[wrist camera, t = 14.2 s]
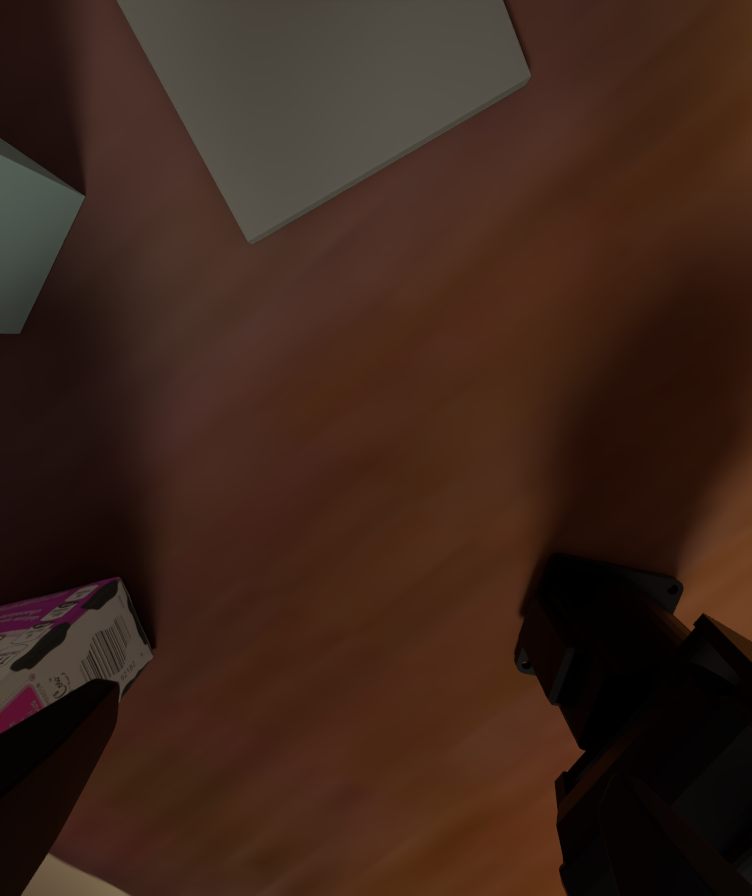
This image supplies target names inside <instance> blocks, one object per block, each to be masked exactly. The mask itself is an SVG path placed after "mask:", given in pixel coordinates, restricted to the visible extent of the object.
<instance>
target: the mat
mask: <svg viewBox="0 0 752 896" xmlns="http://www.w3.org/2000/svg"><path fill="white" fill-rule="evenodd" d="M117 2H118V4H119V6H120V7H121V9H122V11H123V13H124V15H125V17H126V18H127V20H128V22H129V24H130V26H131V28H132V29H133V31H134V33H135V35H136V37H137V39H138V40H139V42H140V44H141V46H142V48H143V50H144V51H145V53H146V55H147V57H148V59H149V61H150V63H151V64H152V66H153V68H154V70H155V72H156V74H157V75H158V77H159V79H160V81H161V83H162V85H163V86H164V88H165V90H166V92H167V94H168V96H169V97H170V99H171V101H172V103H173V105H174V107H175V108H176V110H177V112H178V114H179V116H180V118H181V120H182V121H183V123H184V125H185V127H186V129H187V131H188V132H189V134H190V136H191V138H192V140H193V142H194V143H195V145H196V147H197V149H198V151H199V153H200V154H201V156H202V158H203V160H204V162H205V164H206V166H207V167H208V169H209V171H210V173H211V175H212V177H213V178H214V180H215V182H216V184H217V186H218V188H219V189H220V191H221V193H222V195H223V197H224V199H225V200H226V202H227V204H228V206H229V208H230V210H231V211H232V213H233V215H234V217H235V219H236V221H237V223H238V224H239V226H240V228H241V230H242V232H243V234H244V235H245V237H246V239H247V241H248V242H249V243H250V244H252V245H253V244H254V243H256V242H258V241H259V240H261V239H263V238H265V237H266V236H268V235H270V234H271V233H273V232H275V231H277V230H278V229H280V228H282V227H283V226H285V225H287V224H289V223H290V222H292V221H294V220H296V219H297V218H299V217H301V216H302V215H304V214H306V213H308V212H309V211H311V210H313V209H314V208H316V207H318V206H320V205H321V204H323V203H325V202H326V201H328V200H330V199H332V198H333V197H335V196H337V195H338V194H340V193H342V192H344V191H345V190H347V189H349V188H350V187H352V186H354V185H356V184H357V183H359V182H361V181H362V180H364V179H366V178H368V177H369V176H371V175H373V174H374V173H376V172H378V171H380V170H381V169H383V168H385V167H386V166H388V165H390V164H392V163H393V162H395V161H397V160H398V159H400V158H402V157H404V156H405V155H407V154H409V153H410V152H412V151H414V150H416V149H417V148H419V147H421V146H422V145H424V144H426V143H428V142H429V141H431V140H433V139H434V138H436V137H438V136H440V135H441V134H443V133H445V132H446V131H448V130H450V129H452V128H453V127H455V126H457V125H458V124H460V123H462V122H464V121H465V120H467V119H469V118H470V117H472V116H474V115H476V114H477V113H479V112H481V111H482V110H484V109H486V108H488V107H489V106H491V105H493V104H494V103H496V102H498V101H500V100H501V99H503V98H505V97H506V96H508V95H510V94H512V93H513V92H515V91H517V90H518V89H520V88H522V87H524V86H525V85H526V84H527V82H528V81H529V79H530V77H531V74H530V71H529V69H528V66H527V63H526V61H525V58H524V55H523V53H522V50H521V47H520V44H519V42H518V39H517V36H516V34H515V31H514V28H513V26H512V23H511V20H510V18H509V15H508V12H507V10H506V7H505V4H504V2H503V0H117Z"/></svg>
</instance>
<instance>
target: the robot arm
mask: <svg viewBox="0 0 752 896" xmlns="http://www.w3.org/2000/svg"><path fill="white" fill-rule="evenodd" d="M559 562H564V563H563V565H562V566H561V567H556V565H557V564H558V563H559ZM671 585H673V586H672V588H671V589H669V590H667V589H668V588H669V586H671ZM682 592H683V585H682V583H681V582H680V581H678V580H677V579H676V578H675V577H672V576H668V575H664V574H659V573H654V572H649V571H645V570H640V569H635V568H630V567H625V566H621V565H616V564H611V563H606V562H601V561H597V560H592V559H587V558H582V557H578V556H573V555H568V554H563V553H556V554H553V555H552V556H551V557H550V558H549V560H548V562H547V565H546V568H545V571H544V574H543V577H542V580H541V583H540V586H539V588H538V591H537V592H536V593H535V594H534V595H533V596H532V599H531V602H530V605H529V608H528V611H527V613H526V616H525V619H524V622H523V625H522V628H521V631H520V634H519V640H520V643H519V646H518V649H517V652H516V655H515V659H514V661H515V664H516V666H517V669H518V670H519V671H520V672H522V673H525V674H530V675H535V676H537V678H538V680H539V682H540V684H541V686H542V688H543V691H544V693H545V695H546V697H547V699H548V700H549V702H550V703H551V704H552V705H555V706H559V708H560V710H561V712H562V714H563V716H564V718H565V720H566V722H567V724H568V726H569V728H570V730H571V732H572V734H573V736H574V738H575V740H576V742H577V744H578V746H579V748H580V749H582V750H585V753H584V754H583V755H582V756H581V757H580V758H579V759H578V760H577V762H576V763H575V764H574V765H573V766H572V767H571V768H570V769H569V771H568V772H566V771H564V772H562V773H561V775H560V776H559V777H558V778H557V779H556V780H555V790H556V799H557V808H558V814H557V823H556V826H557V831H558V836H559V840H560V845H561V850H562V854H563V864H562V865H561V866H560V868H559V872H560V877H561V882H562V885H563V887H564V890H565V892H566V894H567V896H752V641H750V640H748V639H746V638H745V637H743V636H741V635H740V634H738V633H736V632H735V631H733V630H731V629H730V628H728V627H726V626H725V625H723V624H721V623H720V622H718V621H716V620H714V619H713V618H711V617H709V616H708V615H706V614H704V613H703V614H702V615H701V616H700V617H699V618H698V619H697V621H696V622H695V623H694V624H693V625H694V626H695V628H694V629H693V631H692V632H691V631H690V630H689V629H688V628H687V627H686V626H685V625H684V624H683V623H681V622H680V621H679V620H678V619H677V618H676V617H675V616H674V615H673V613H674V611H675V609H676V606H677V604H678V602H679V599H680V597H681V595H682ZM524 661H528V662H527V663H524V664H523V662H524ZM119 695H120V685H119V683H118V682H116V681H112V680H106V679H101V678H95V679H92V680H90V681H88V682H87V683H85V684H83V685H82V686H80V687H78V688H77V689H75V690H73V691H71V692H70V693H68V694H66V695H65V696H63V697H61V698H60V699H58V700H56V701H55V702H53V703H51V704H49V705H48V706H46V707H44V708H43V709H41V710H39V711H38V712H36V713H34V714H33V715H31V716H29V717H27V718H26V719H24V720H22V721H21V722H19V723H17V724H16V725H14V726H12V727H11V728H9V729H7V730H5V731H4V732H2V733H0V896H21V895H22V893H23V891H24V890H25V888H26V886H27V885H28V884H29V882H30V880H31V879H32V877H33V876H34V874H35V872H36V871H37V869H38V868H39V866H40V865H41V863H42V862H43V860H44V859H45V857H46V855H47V854H48V852H49V850H50V849H51V847H52V845H53V844H54V842H55V841H56V839H57V837H58V835H59V833H60V832H61V830H62V828H63V826H64V824H65V823H66V821H67V819H68V817H69V815H70V813H71V811H72V809H73V808H74V806H75V804H76V802H77V800H78V798H79V796H80V794H81V792H82V790H83V789H84V787H85V785H86V783H87V781H88V779H89V777H90V775H91V773H92V772H93V770H94V768H95V766H96V764H97V762H98V760H99V758H100V756H101V755H102V753H103V751H104V749H105V747H106V745H107V743H108V741H109V739H110V737H111V735H112V733H113V731H114V728H115V726H116V722H117V715H118V705H119Z"/></svg>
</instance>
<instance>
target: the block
mask: <svg viewBox="0 0 752 896" xmlns="http://www.w3.org/2000/svg"><path fill="white" fill-rule="evenodd" d="M84 198H85V196H84V195H82V194H81V193H80V192H78V191H77V190H75V189H74V188H72V187H71V186H69V185H68V184H66V183H65V182H64V181H62V180H61V179H59V178H58V177H56V176H55V175H53V174H52V173H50V172H49V171H47V170H46V169H45V168H43V167H42V166H40V165H39V164H37V163H36V162H34V161H33V160H31V159H30V158H29V157H27V156H26V155H24V154H23V153H21V152H20V151H18V150H17V149H15V148H14V147H13V146H11V145H10V144H8V143H7V142H5V141H4V140H2V139H1V138H0V334H20V332H21V330H22V328H23V326H24V324H25V322H26V320H27V318H28V316H29V314H30V311H31V309H32V307H33V305H34V303H35V301H36V299H37V297H38V295H39V293H40V290H41V288H42V286H43V284H44V282H45V280H46V278H47V276H48V274H49V272H50V270H51V267H52V265H53V263H54V261H55V259H56V257H57V255H58V253H59V251H60V249H61V247H62V244H63V242H64V240H65V238H66V236H67V234H68V232H69V230H70V228H71V226H72V224H73V221H74V219H75V217H76V215H77V213H78V211H79V209H80V207H81V205H82V203H83V200H84Z"/></svg>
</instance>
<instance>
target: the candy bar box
mask: <svg viewBox="0 0 752 896" xmlns="http://www.w3.org/2000/svg"><path fill="white" fill-rule="evenodd" d="M152 658H153V651H152V649H151V646H150V644H149V641H148V639H147V637H146V634H145V632H144V630H143V628H142V626H141V624H140V622H139V619H138V617H137V614H136V611H135V608H134V606H133V604H132V601H131V599H130V596H129V593H128V591H127V589H126V588H125V585H124V583H123V581H122V579H121V578H120V577H114V578H110V579H106V580H102V581H98V582H94V583H90V584H87V585H82V586H78V587H74V588H70V589H66V590H63V591H59V592H55V593H51V594H47V595H43V596H39V597H35V598H31V599H26V600H22V601H18V602H14V603H10V604H6V605H2V606H0V733H2V732H4V731H5V730H7V729H9V728H11V727H12V726H14V725H16V724H17V723H19V722H21V721H22V720H24V719H26V718H27V717H29V716H31V715H33V714H34V713H36V712H38V711H39V710H41V709H43V708H44V707H46V706H48V705H49V704H51V703H53V702H55V701H56V700H58V699H60V698H61V697H63V696H65V695H66V694H68V693H70V692H71V691H73V690H75V689H77V688H78V687H80V686H82V685H83V684H85V683H87V682H88V681H90V680H92V679H95V678H101V679H106V680H112V681H116V682H118V683H119V685H120V695H119V702H120V700H121V699H122V697H123V696H124V695H125V693H126V692H127V691H128V690H129V688H130V687H131V685H132V684H133V683H134V681H135V680H136V679H137V677H138V676H139V675H140V673H141V672H142V671H143V669H144V668H145V666H146V665H147V664H148V662H149V661H150V660H151V659H152Z"/></svg>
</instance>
